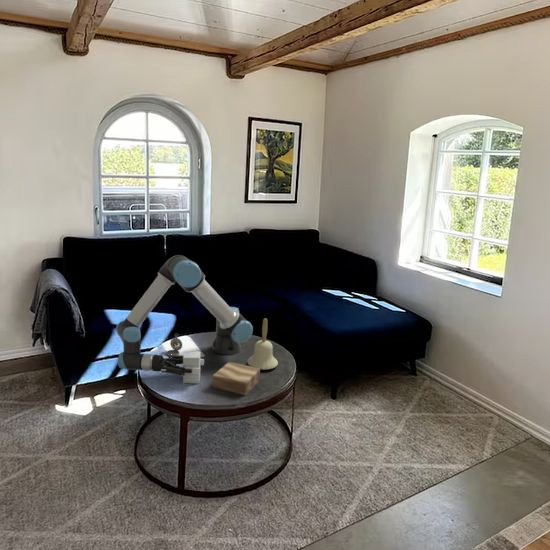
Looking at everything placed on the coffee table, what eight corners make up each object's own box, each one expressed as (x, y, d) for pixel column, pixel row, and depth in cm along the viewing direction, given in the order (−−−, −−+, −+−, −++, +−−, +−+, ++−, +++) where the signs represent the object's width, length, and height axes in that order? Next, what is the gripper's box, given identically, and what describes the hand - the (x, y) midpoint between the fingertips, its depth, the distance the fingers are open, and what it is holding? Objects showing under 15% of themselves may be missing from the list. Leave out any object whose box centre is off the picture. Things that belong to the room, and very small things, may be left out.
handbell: (264, 375, 236) (267, 326, 230) (240, 365, 245) (243, 318, 239) (283, 365, 248) (287, 318, 242) (260, 356, 257) (263, 311, 251)
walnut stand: (228, 373, 236) (229, 361, 234) (259, 380, 230) (260, 368, 229) (212, 387, 221) (213, 375, 220) (245, 395, 216) (246, 382, 214)
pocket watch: (166, 357, 249) (166, 338, 247) (165, 350, 257) (165, 332, 255) (183, 356, 252) (183, 337, 249) (181, 349, 260) (181, 332, 257)
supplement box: (200, 376, 231) (201, 351, 228) (198, 383, 223) (199, 358, 220) (184, 376, 230) (185, 350, 227) (182, 383, 223) (182, 357, 220)
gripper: (159, 360, 237) (206, 364, 236) (145, 380, 216) (196, 384, 215) (159, 346, 235) (206, 349, 235) (145, 365, 214) (197, 369, 214)
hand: (201, 366), depth 225 cm, fingers open, 9 cm apart
